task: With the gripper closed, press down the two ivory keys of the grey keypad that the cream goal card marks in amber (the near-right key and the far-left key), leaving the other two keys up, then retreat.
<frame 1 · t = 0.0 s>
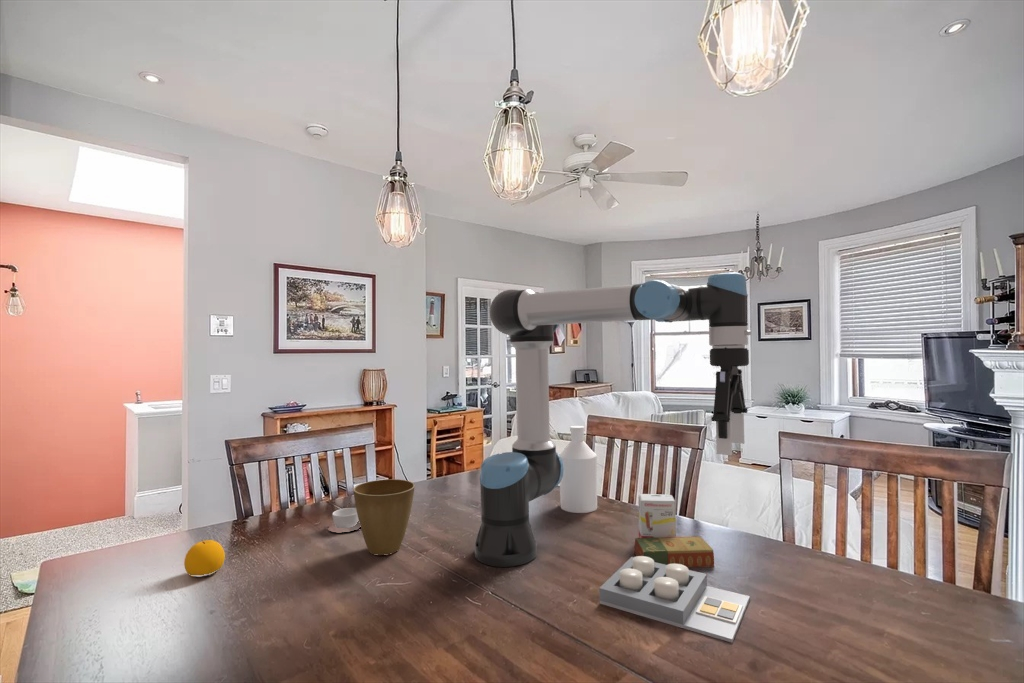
hand: (731, 448, 105), 28 cm above the table, fingers open, 13 cm apart
carton: (673, 561, 116), on the table
keypad board: (674, 601, 97), on the table
bottle: (578, 507, 156), on the table
button B: (643, 566, 104), point 4 cm above the table, slide at 0.0 cm
teacup: (346, 529, 141), on the table
button D: (677, 574, 100), point 4 cm above the table, slide at 0.0 cm
plant pot: (385, 551, 125), on the table
button A: (631, 579, 99), point 4 cm above the table, slide at 0.0 cm
button C: (666, 589, 95), point 4 cm above the table, slide at 0.0 cm
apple: (205, 575, 113), on the table
ink box: (657, 544, 125), on the table
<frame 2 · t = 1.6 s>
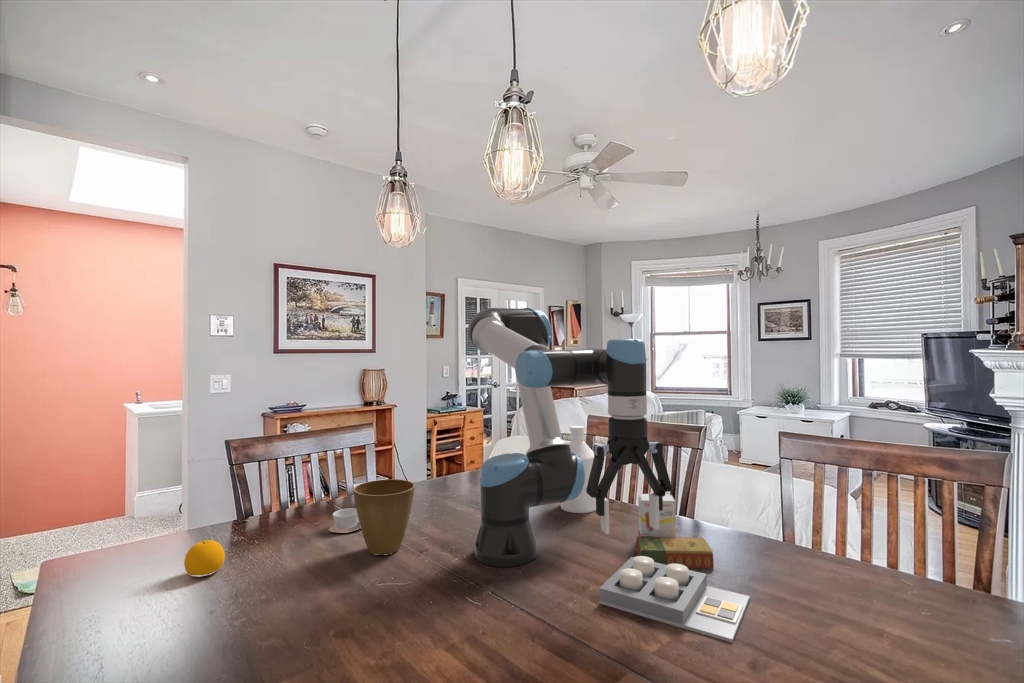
hand: (630, 529, 99), 14 cm above the table, fingers open, 10 cm apart
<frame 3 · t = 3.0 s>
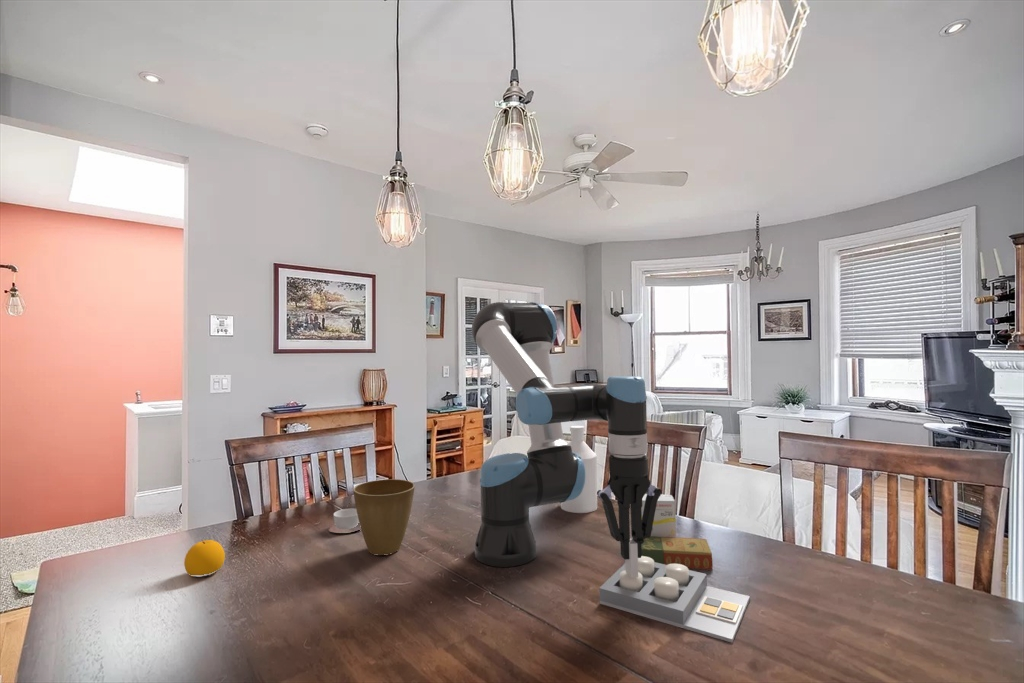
hand: (631, 574, 98), 5 cm above the table, fingers closed
button A: (631, 581, 99), point 3 cm above the table, slide at 0.4 cm, touching gripper
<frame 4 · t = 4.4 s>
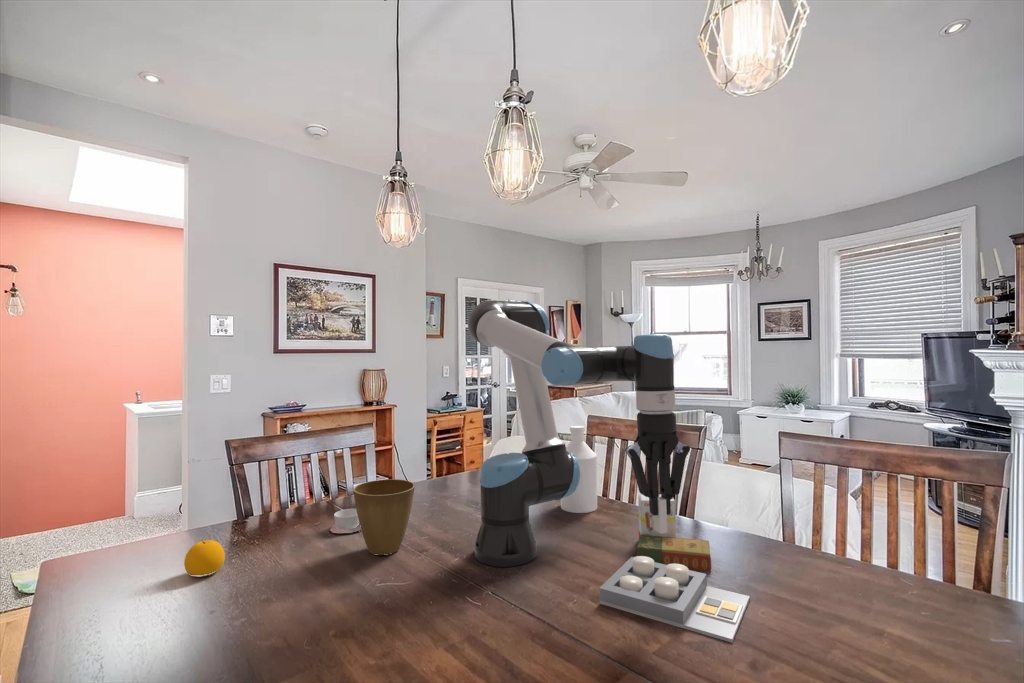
hand: (660, 530, 99), 13 cm above the table, fingers closed
button A: (631, 587, 99), point 2 cm above the table, slide at 1.4 cm
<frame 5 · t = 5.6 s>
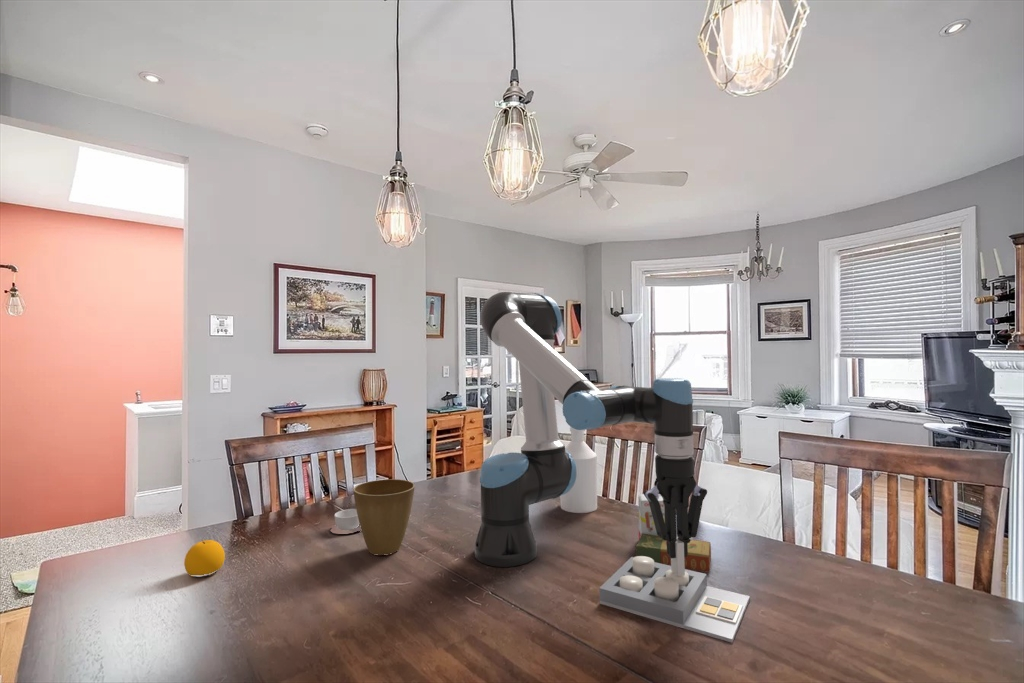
hand: (677, 572, 100), 4 cm above the table, fingers closed
button D: (677, 580, 100), point 3 cm above the table, slide at 1.1 cm
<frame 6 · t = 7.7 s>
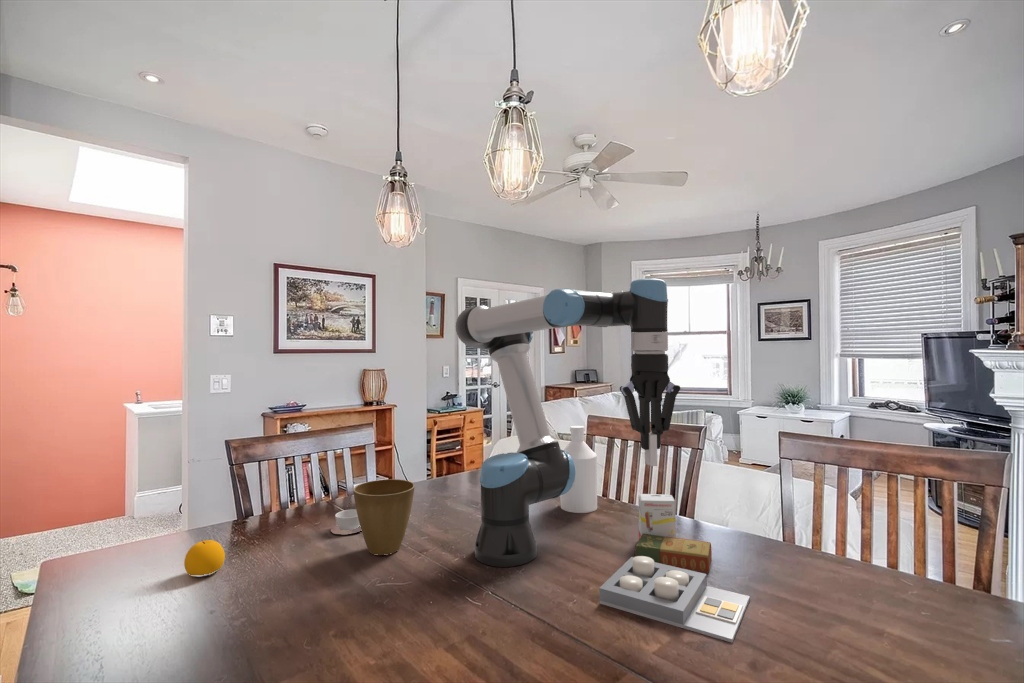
hand: (650, 464, 105), 25 cm above the table, fingers closed
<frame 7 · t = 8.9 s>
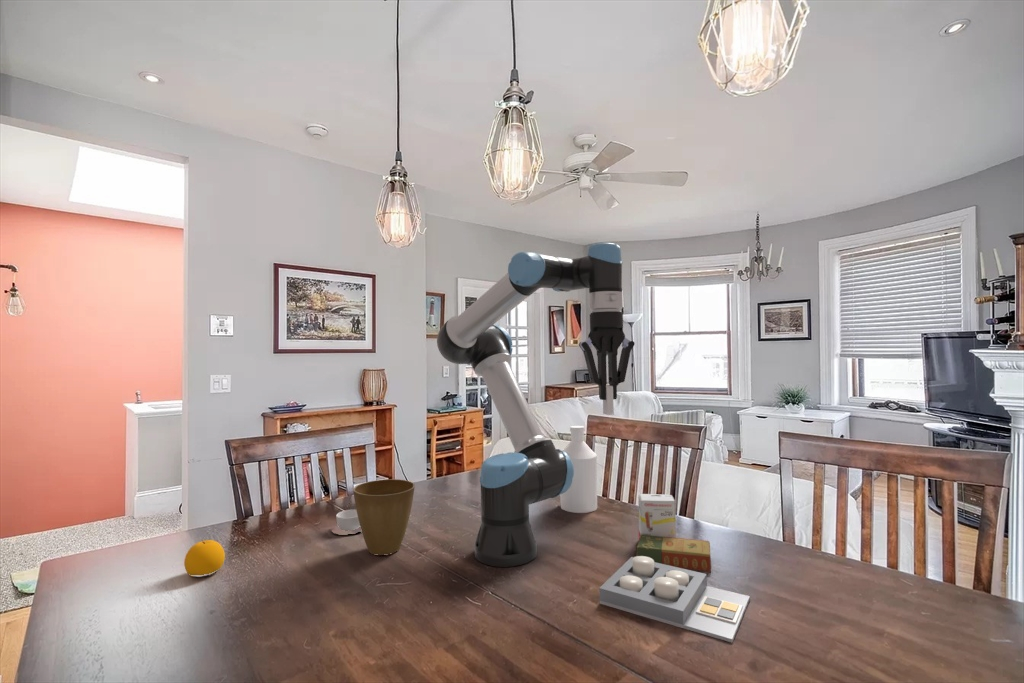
hand: (608, 413, 115), 34 cm above the table, fingers closed
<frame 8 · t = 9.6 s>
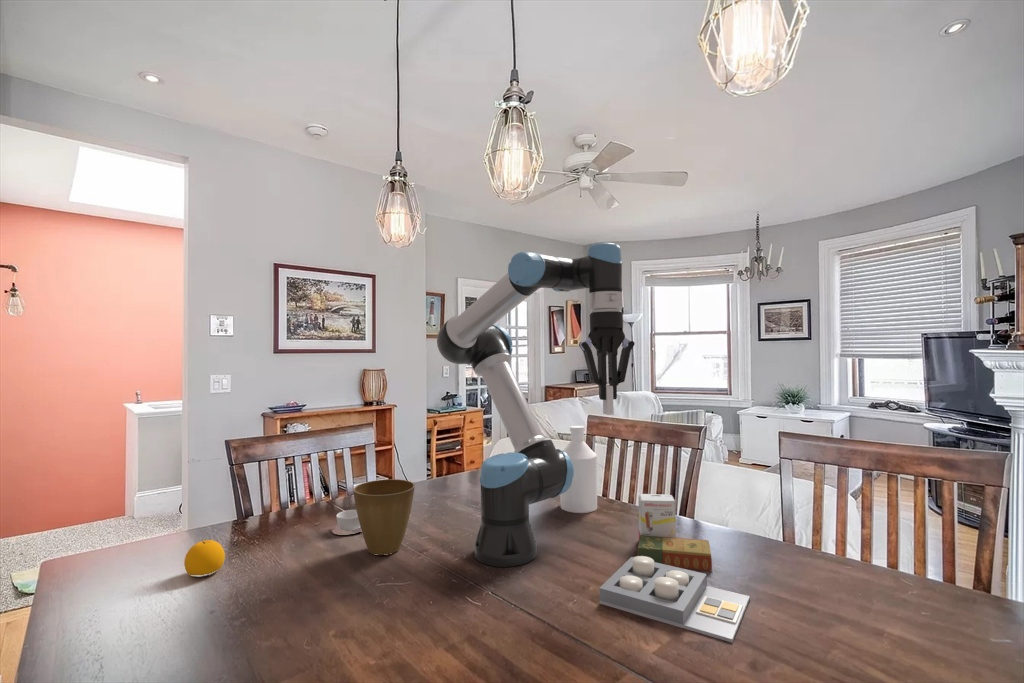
hand: (608, 413, 115), 34 cm above the table, fingers closed
at the end: button A slide at 1.4 cm; button D slide at 1.4 cm; button B slide at 0.0 cm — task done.
